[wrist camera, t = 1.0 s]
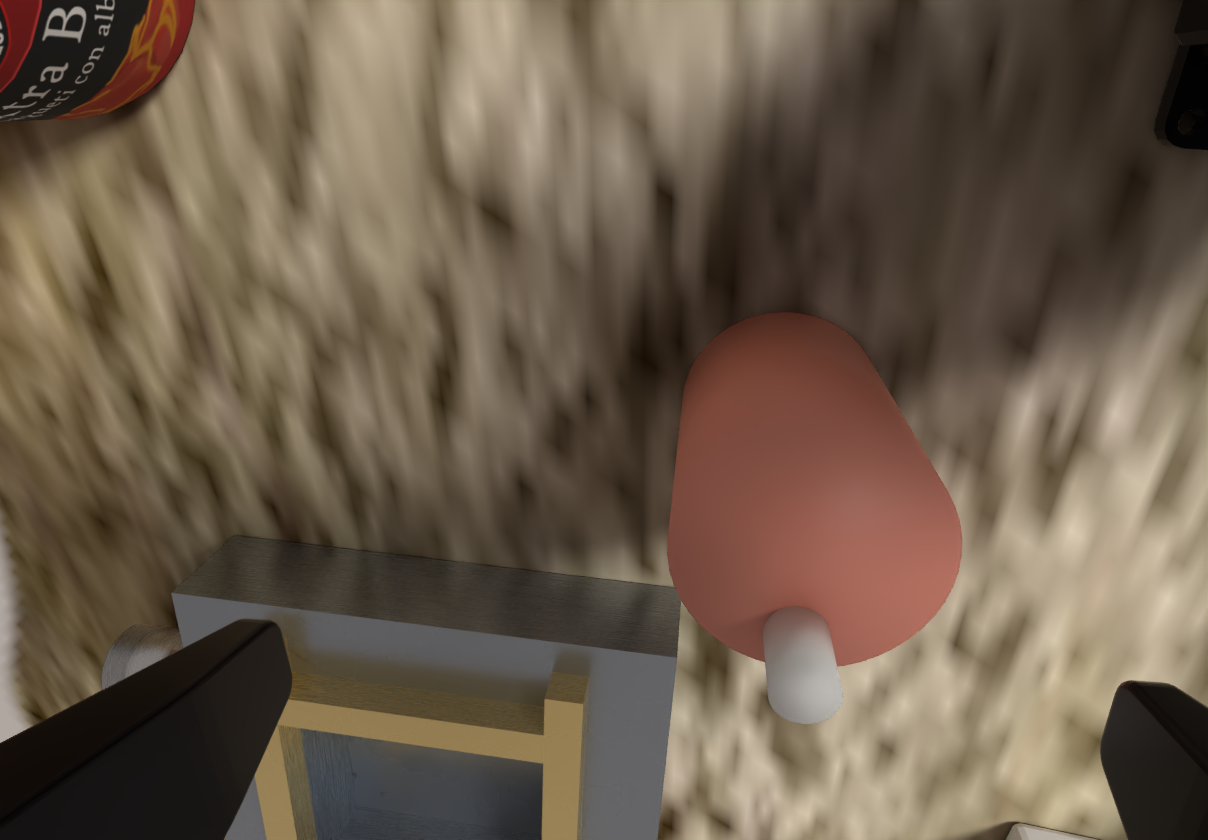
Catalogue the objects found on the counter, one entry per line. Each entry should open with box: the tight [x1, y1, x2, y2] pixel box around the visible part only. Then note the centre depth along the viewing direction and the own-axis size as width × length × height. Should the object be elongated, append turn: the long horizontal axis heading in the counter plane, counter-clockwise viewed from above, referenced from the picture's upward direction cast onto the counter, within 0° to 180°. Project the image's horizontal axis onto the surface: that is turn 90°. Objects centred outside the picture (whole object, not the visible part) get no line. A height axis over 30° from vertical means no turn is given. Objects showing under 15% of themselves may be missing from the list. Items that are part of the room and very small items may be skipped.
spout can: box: [667, 312, 962, 724], centre depth 16 cm, size 5×5×9 cm
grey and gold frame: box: [102, 535, 681, 840], centre depth 24 cm, size 17×14×4 cm
